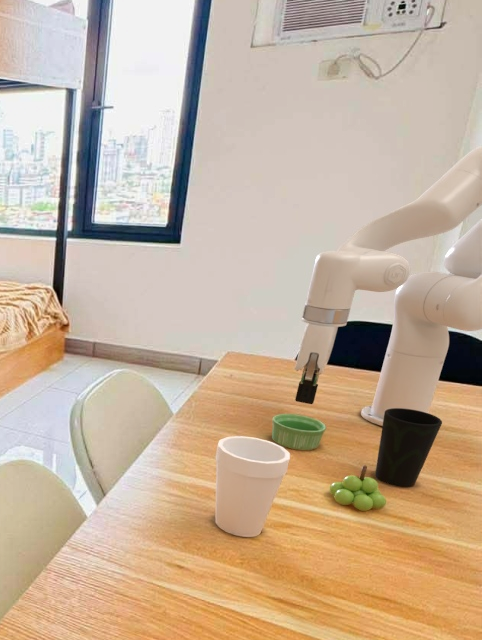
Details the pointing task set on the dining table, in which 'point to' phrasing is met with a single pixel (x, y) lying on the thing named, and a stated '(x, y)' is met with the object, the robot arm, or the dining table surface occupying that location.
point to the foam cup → (247, 483)
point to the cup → (405, 445)
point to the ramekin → (297, 431)
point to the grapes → (358, 492)
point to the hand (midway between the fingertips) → (304, 401)
